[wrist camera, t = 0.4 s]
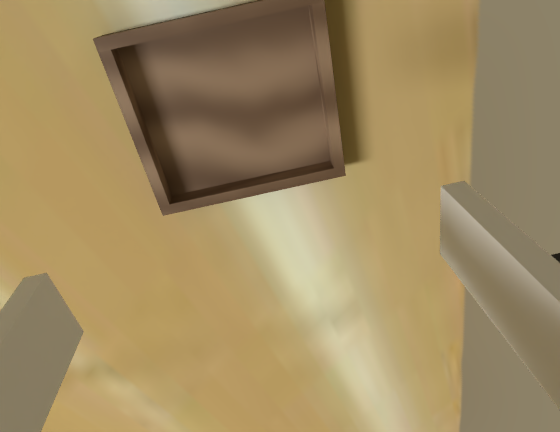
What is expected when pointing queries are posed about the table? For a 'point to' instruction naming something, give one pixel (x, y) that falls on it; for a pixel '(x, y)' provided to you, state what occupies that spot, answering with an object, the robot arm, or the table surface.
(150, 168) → the walnut tray
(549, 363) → the robot arm
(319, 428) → the table surface
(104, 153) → the table surface
